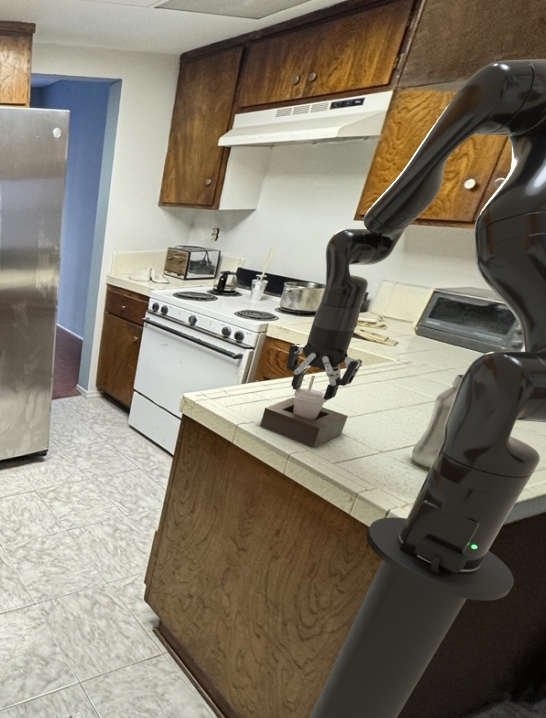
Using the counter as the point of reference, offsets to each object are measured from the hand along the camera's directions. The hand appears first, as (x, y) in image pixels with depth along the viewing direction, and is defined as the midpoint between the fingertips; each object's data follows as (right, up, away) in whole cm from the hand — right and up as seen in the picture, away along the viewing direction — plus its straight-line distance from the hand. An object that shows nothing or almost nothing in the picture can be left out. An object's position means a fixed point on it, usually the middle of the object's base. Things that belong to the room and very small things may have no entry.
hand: (311, 393), depth 109 cm
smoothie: (0, -9, +4) cm, 10 cm away
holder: (0, -9, +4) cm, 10 cm away
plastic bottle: (+17, -15, -10) cm, 25 cm away
